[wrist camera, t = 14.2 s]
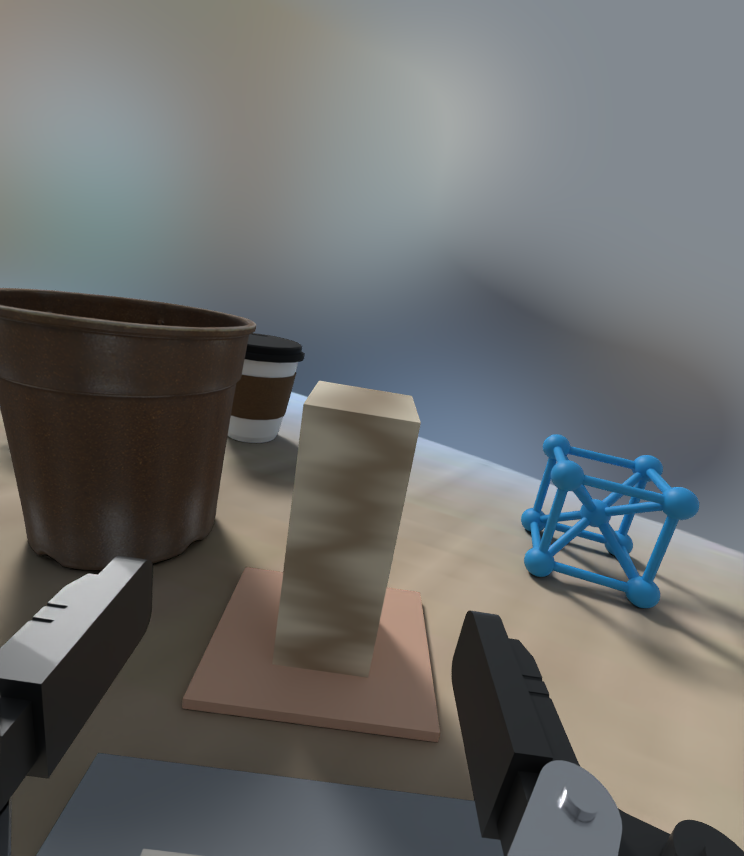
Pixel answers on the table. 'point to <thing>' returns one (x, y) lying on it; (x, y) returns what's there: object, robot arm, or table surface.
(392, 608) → the terracotta pad
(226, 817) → the puzzle board
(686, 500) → the molecular structure
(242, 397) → the coffee cup
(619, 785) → the table surface
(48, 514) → the plant pot
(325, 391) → the maple block
